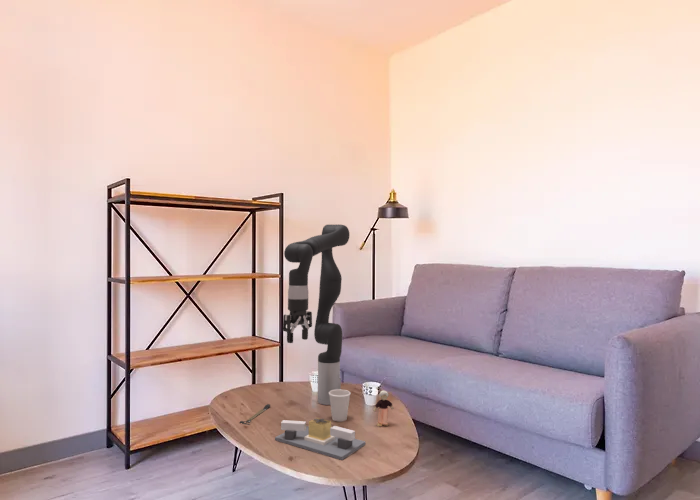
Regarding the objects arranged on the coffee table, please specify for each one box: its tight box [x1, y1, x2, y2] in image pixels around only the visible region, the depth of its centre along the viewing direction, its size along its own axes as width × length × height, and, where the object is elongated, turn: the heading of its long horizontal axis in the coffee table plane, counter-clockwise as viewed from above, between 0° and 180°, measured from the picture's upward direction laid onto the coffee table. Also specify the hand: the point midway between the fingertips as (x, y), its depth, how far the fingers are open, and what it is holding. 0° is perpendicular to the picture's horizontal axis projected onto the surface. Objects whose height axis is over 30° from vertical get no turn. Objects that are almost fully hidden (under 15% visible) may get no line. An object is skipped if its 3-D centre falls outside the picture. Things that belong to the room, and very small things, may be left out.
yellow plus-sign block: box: [308, 417, 332, 440], centre depth 156 cm, size 6×4×5 cm
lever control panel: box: [274, 419, 366, 461], centre depth 156 cm, size 27×14×6 cm, turn 57°
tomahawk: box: [239, 403, 271, 426], centre depth 181 cm, size 21×7×1 cm, turn 162°
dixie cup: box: [329, 388, 351, 422], centre depth 179 cm, size 8×8×10 cm
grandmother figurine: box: [373, 390, 394, 427], centre depth 173 cm, size 8×4×13 cm, turn 118°
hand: (297, 341), depth 174 cm, fingers open, 8 cm apart
